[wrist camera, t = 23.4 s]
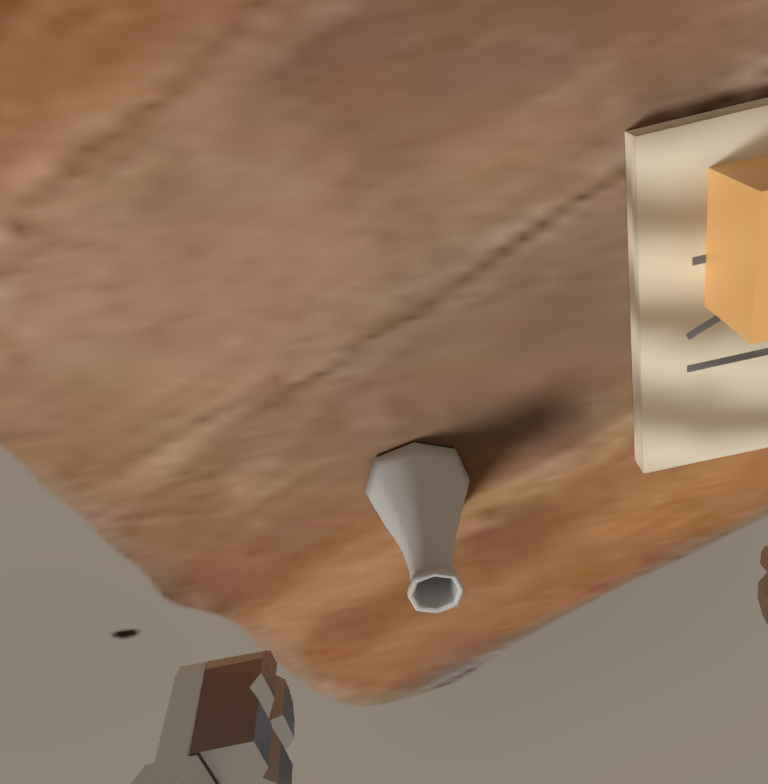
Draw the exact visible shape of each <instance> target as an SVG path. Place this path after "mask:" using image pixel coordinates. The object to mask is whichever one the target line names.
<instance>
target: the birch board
mask: <svg viewBox="0 0 768 784" xmlns="http://www.w3.org/2000/svg"><path fill="white" fill-rule="evenodd" d="M765 154H768V97H767V98H762V99H758V100H754V101H750V102H746V103H742V104H737V105H733V106H729V107H725V108H721V109H717V110H712V111H708V112H704V113H700V114H696V115H692V116H687V117H683V118H679V119H675V120H671V121H667V122H662V123H658V124H654V125H650V126H646V127H642V128H637V129H633V130H629V131H625V158H626V190H627V221H628V253H629V285H630V316H631V348H632V380H633V411H634V443H635V461H636V462H637V464H638V466H639V467H640V469H641V470H642V472H643V473H648V472H653V471H658V470H663V469H667V468H672V467H677V466H681V465H686V464H691V463H696V462H700V461H705V460H710V459H714V458H719V457H724V456H728V455H733V454H738V453H743V452H747V451H752V450H757V449H761V448H766V447H768V341H763V342H759V343H754V344H750V343H749V342H747V341H746V340H745V339H744V338H743V337H741V336H740V335H739V334H738V333H737V332H735V331H734V330H733V329H732V328H730V327H729V326H728V325H727V324H726V323H724V322H723V321H722V320H721V319H720V318H718V317H717V316H716V315H715V314H714V313H712V312H711V311H710V310H709V309H707V308H706V307H705V276H706V239H707V202H708V168H710V167H714V166H719V165H723V164H727V163H731V162H735V161H740V160H744V159H748V158H752V157H756V156H761V155H765Z"/></svg>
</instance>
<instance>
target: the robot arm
mask: <svg viewBox="0 0 768 784" xmlns="http://www.w3.org/2000/svg"><path fill="white" fill-rule="evenodd" d="M760 563H761V565H762V566H763V567H764V569H765V570H766V571H767V573H766V574H765V575H764V577H763V578H762V579H761V580H760V581H759V582H758V600H759V603H760V608H761V611H762V615H763V617H764V619H765V621H766V623H767V624H768V545H766V546H765V547H764V549H763V550H762V552H761V560H760ZM276 669H277V662H276V660H275V658H274V657H273V655H272V653H271V651H262V652H257V653H252V654H246V655H240V656H235V657H229V658H224V659H218V660H213V661H208V662H203V663H198V664H192V665H188V666H182V667H180V669H179V670H178V672H177V674H176V675H175V677H174V682H173V686H172V691H171V695H170V699H169V703H168V707H167V712H166V716H165V720H164V724H163V729H162V733H161V737H160V742H159V746H158V750H157V754H156V758H155V763H152V764H148V765H145V767H144V768H143V769H142V770H141V772H140V773H139V774H138V775H137V777H136V778H135V779H134V781H133V782H132V783H131V784H292V768H293V764H292V762H291V760H290V758H289V756H288V754H287V752H286V749H287V748H288V746H289V745H290V743H291V742H292V740H293V739H294V726H295V718H294V709H293V701H292V697H291V694H290V690H289V687H288V685H287V683H286V681H285V679H282V678H281V677H279V676H277V675H276Z"/></svg>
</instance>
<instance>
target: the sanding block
mask: <svg viewBox="0 0 768 784" xmlns="http://www.w3.org/2000/svg"><path fill="white" fill-rule="evenodd" d="M705 307H706V308H707V309H709V310H710V311H711V312H712V313H714V314H715V315H716V316H717V317H718V318H720V319H721V320H722V321H723V322H724V323H726V324H727V325H728V326H729V327H730V328H732V329H733V330H734V331H735V332H737V333H738V334H739V335H740V336H741V337H743V338H744V339H745V340H746V341H747V342H749V343H750V344H754V343H759V342H763V341H768V154H765V155H761V156H756V157H752V158H748V159H744V160H740V161H735V162H731V163H727V164H723V165H719V166H714V167H710V168H708V202H707V239H706V276H705Z"/></svg>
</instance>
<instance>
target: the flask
mask: <svg viewBox="0 0 768 784" xmlns="http://www.w3.org/2000/svg"><path fill="white" fill-rule="evenodd" d="M469 482H470V478H469V476H468V474H467V472H466V470H465V468H464V466H463V464H462V462H461V460H460V458H459V455H458V453H457V451H456V449H453V448H447V447H440V446H434V445H427V444H421V443H415V442H414V443H411V444H409V445H406V446H403V447H401V448H398V449H396V450H393V451H391V452H388V453H386V454H383V455H381V456H378V457H376V458H374V461H373V464H372V468H371V472H370V475H369V479H368V483H367V486H366V490H365V492H366V494H367V496H368V498H369V499H370V501H371V503H372V504H373V506H374V508H375V509H376V511H377V513H378V515H379V516H380V518H381V520H382V521H383V523H384V524H385V526H386V527H387V529H388V530H389V532H390V533H391V535H392V536H393V537H394V539H395V540H396V542H397V543H398V545H399V546H400V548H401V550H402V552H403V555H404V557H405V560H406V563H407V565H408V568H409V572H410V579H411V582H410V585H409V588H408V592H407V595H408V598H409V600H410V601H411V603H412V604H413V606H414V608H415V609H416V611H423V612H432V613H439V612H442V611H445V610H448V609H451V608H453V607H456V606H458V605H459V602H460V600H461V597H462V595H463V592H464V586H463V585H462V583H461V581H460V579H459V577H458V575H457V574H456V572H455V567H454V542H455V538H456V533H457V529H458V525H459V520H460V516H461V512H462V508H463V505H464V501H465V497H466V494H467V490H468V486H469Z"/></svg>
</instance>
